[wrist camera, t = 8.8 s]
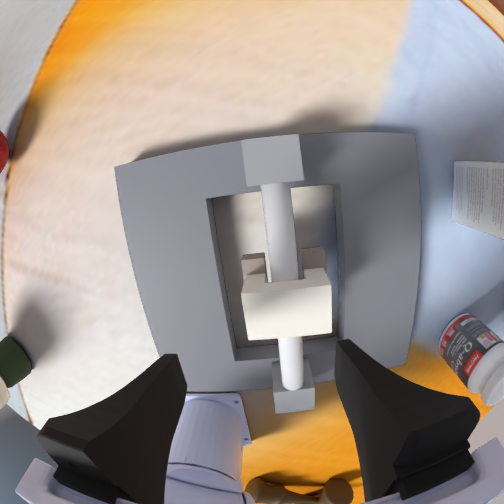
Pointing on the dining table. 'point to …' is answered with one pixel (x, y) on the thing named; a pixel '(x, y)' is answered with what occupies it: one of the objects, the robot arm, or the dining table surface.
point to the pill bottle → (475, 357)
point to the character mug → (11, 367)
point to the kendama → (282, 500)
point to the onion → (3, 151)
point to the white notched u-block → (287, 299)
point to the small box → (479, 196)
